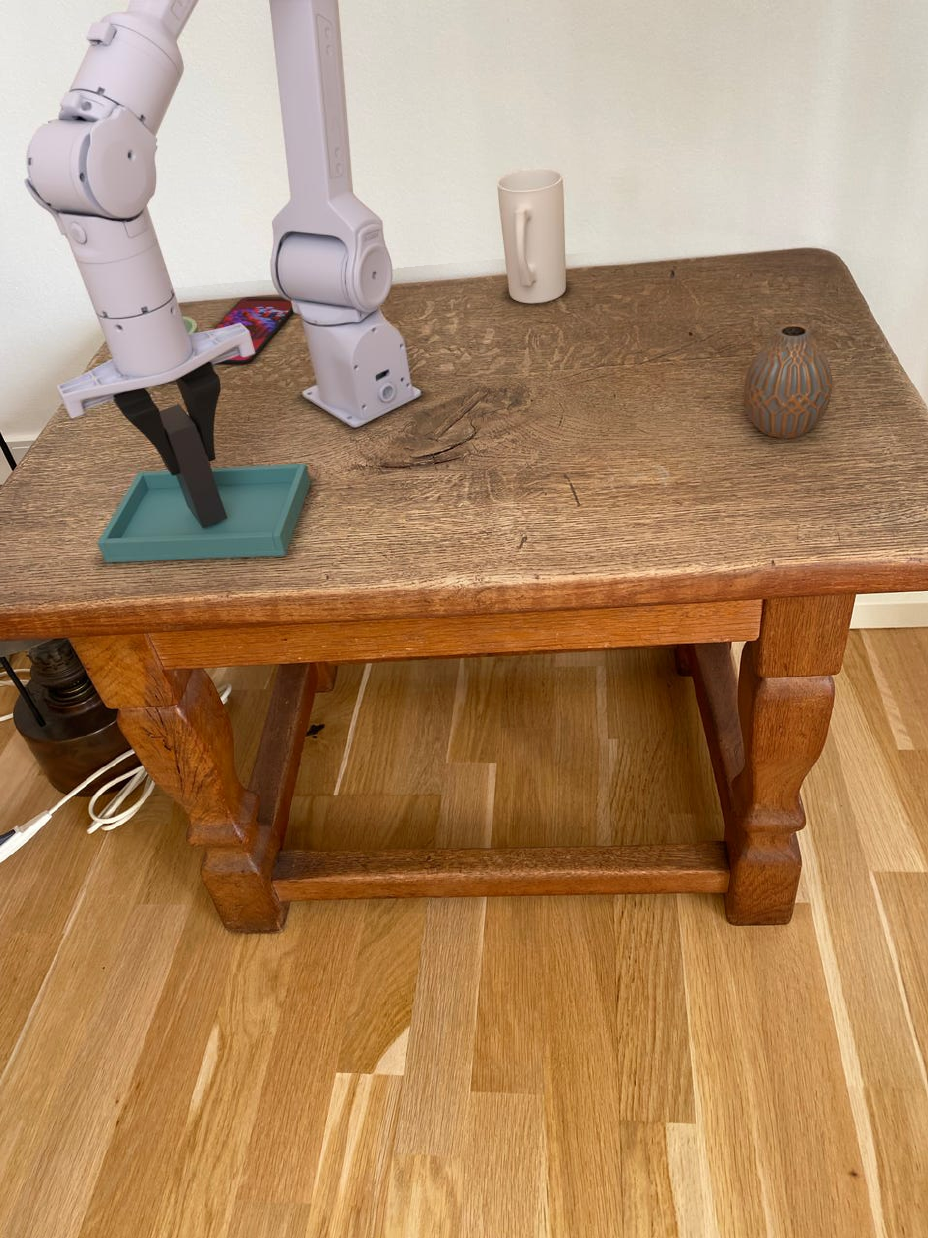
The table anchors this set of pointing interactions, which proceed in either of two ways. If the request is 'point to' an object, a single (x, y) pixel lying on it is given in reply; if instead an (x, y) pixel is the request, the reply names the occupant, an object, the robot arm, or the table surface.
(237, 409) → the table surface
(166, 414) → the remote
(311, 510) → the table surface
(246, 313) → the smartphone
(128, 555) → the tray
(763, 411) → the vase
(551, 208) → the mug
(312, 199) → the robot arm
